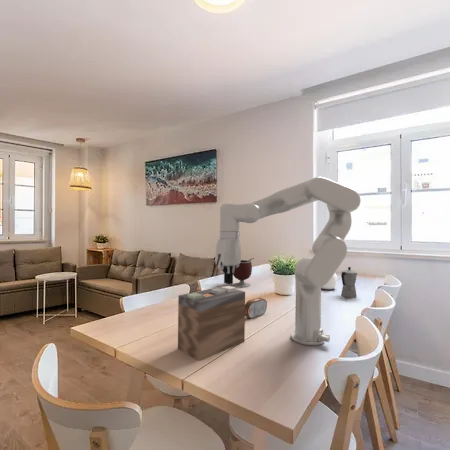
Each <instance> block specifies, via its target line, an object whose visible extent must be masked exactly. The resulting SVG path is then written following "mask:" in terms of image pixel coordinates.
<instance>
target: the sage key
mask: <svg viewBox="0 0 450 450" xmlns="http://www.w3.org/2000/svg"><path fill="white" fill-rule="evenodd" d="M191 293H192V294H188V293H186V294H187V298H190V299H193V300H196V299H200V298H203V295H202V294H199V293H193V292H191Z"/></svg>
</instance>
